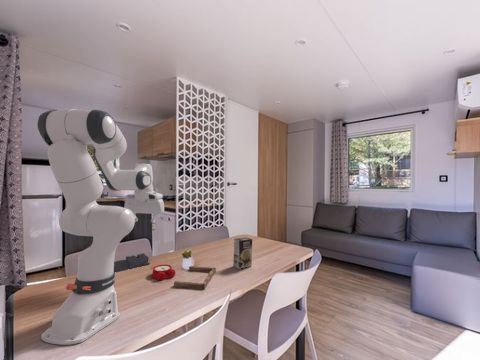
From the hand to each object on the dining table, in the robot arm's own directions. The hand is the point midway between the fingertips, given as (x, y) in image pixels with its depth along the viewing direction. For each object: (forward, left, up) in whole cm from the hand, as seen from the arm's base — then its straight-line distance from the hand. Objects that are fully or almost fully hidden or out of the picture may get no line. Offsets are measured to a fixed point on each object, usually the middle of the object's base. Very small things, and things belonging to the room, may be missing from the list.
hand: (144, 221), depth 120 cm
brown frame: (+2, -27, -27) cm, 39 cm away
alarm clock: (+2, -10, -28) cm, 30 cm away
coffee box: (+24, -49, -28) cm, 61 cm away
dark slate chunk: (+13, +16, -28) cm, 35 cm away
